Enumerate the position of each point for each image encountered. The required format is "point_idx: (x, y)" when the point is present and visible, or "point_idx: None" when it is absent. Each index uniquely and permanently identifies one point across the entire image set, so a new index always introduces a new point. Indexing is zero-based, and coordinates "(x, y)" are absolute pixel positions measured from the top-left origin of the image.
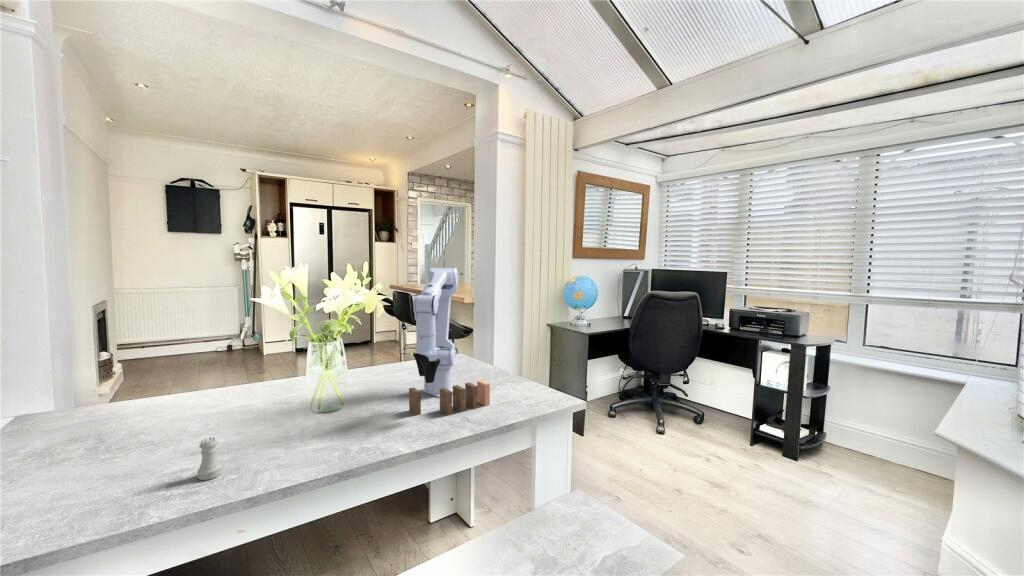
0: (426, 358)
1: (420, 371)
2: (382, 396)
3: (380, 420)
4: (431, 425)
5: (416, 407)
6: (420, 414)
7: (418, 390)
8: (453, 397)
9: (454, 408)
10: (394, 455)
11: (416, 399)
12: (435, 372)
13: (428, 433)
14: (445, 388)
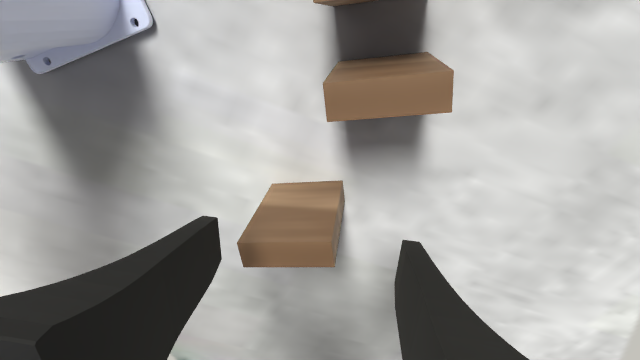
0: (119, 333)
1: (202, 283)
2: (82, 235)
3: (325, 304)
4: (487, 186)
5: (341, 216)
6: (342, 182)
7: (303, 242)
8: (335, 3)
9: (353, 3)
10: (623, 351)
11: (338, 239)
12: (458, 297)
13: (554, 223)
14: (349, 85)
